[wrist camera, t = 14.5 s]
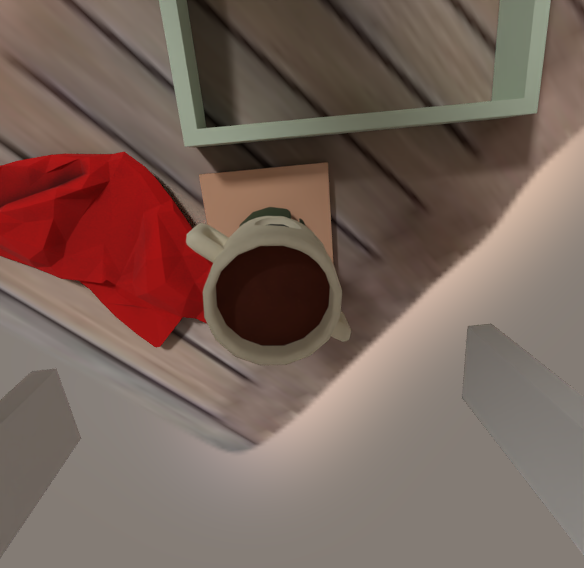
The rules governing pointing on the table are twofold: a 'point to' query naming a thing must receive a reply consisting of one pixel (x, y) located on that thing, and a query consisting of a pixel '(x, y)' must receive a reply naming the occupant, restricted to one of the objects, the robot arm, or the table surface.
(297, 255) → the character mug
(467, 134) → the table surface
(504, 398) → the robot arm
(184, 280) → the cloth
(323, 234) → the terracotta tile
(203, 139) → the frame
